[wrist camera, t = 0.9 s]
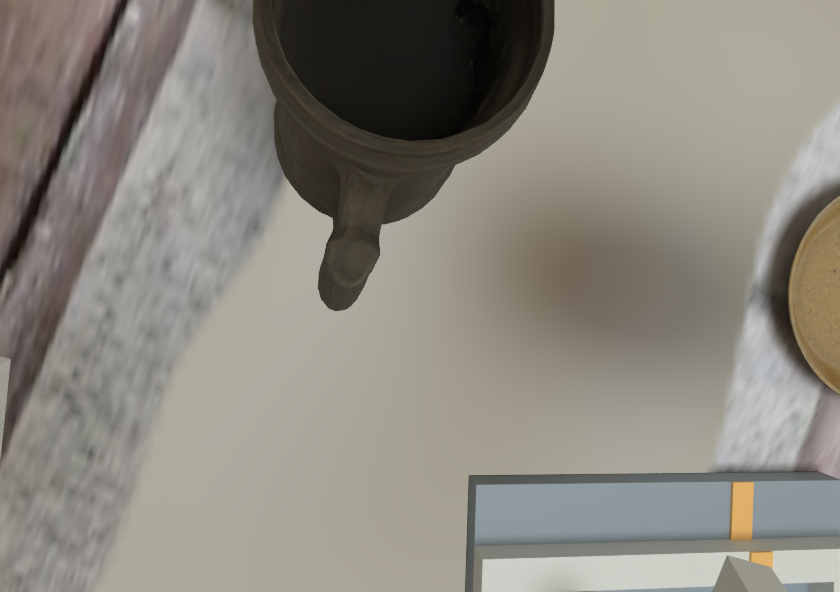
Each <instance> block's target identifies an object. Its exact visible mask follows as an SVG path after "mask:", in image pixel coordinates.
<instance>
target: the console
mask: <svg viewBox="0 0 840 592" xmlns="http://www.w3.org/2000/svg"><path fill="white" fill-rule="evenodd" d="M466 549H467V550H466V578H465V579H466V580H465V592H578V591H595V592H712V591H713V589H714V586H715V584H716V581H717V579H718V576H719V574H720V571H721V569H722V566H723V564H724V561H725V559H726V556H727V555H728V556H732V557H736V558H739V559H743V560H747V561H750V562H754V563H758V564H761V565H765V566H769V567H771V568H772V570H773V571H774V573H775V574H776V575H777V577H778V578H779V580H780V581H781V583H782V584H783V586H784V587H785V589H786V590H787V592H840V479H837V478H834V477H832V476H829V475H826V474H823V473H821V472H752V473H660V474H658V473H655V474H560V475H469V488H468V518H467V548H466Z"/></svg>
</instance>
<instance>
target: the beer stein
mask: <svg viewBox="0 0 840 592" xmlns="http://www.w3.org/2000/svg"><path fill="white" fill-rule="evenodd" d="M253 27H254V33H255V40H256V45H257V49H258V53H259V58H260V62H261V66H262V68H263V70H264V72H265V75H266V77H267V79H268V82H269V84H270V86H271V89H272V91H273V93H274V95H275V97H276V98H277V101H276V105H275V110H274V132H275V145H276V150H277V156H278V159H279V161H280V164H281V167H282V169H283V172H284V175H285V177H286V178H287V179H288V181H289V182H290V184H291V185H292V186H293V187H294V189H295V190H296V191H297V193H298V194H299V195H300V196H301V198H303V199H304V200H305V201H307V202H308V203H309V204H310V205H311V206H312V207H314V208H315V209H317V210H318V211H319V212H321V213H323V214H326V215H328V216H330V217H332V218H333V231H332V234H331V236H330V238H329V240H328V242H327V244H326V249H325V254H324V258H323V261H322V264H321V267H320V271H319V281H318V289H319V293H320V297H321V299H322V301H324V303H325V304H326V306H327V307H328V308H329V309H332V310H334V311H339V310H345V309H347V308H349V307H350V306H351V305H352V304H353V303H354V302H355V301H356V300H357V298H358V296H359V295H360V293H361V291H362V289H363V287H364V285H365V283H366V281H367V278H368V276H369V274H370V273H371V272H372V270H373V268H374V266H375V264H376V262H377V260H378V258H379V256H380V247H379V234H380V229H381V224H388V223H392V222H396V221H399V220H401V219H404V218H406V217H408V216H410V215H412V214H413V213H415V212H417V211H418V210H420V209H421V208H423V207H424V206H425V205H426V204H427V203H428V202H429V201H430V200H432V199H433V198H434V197H435V195H436V194H437V193H438V191H439V190H440V188H441V187H442V185H443V184H444V182H445V181H446V180H447V178H448V177H449V176H450V174H451V172H452V170H453V168H454V166H455V165H456V164H458V163H461V162H463V161H465V160H467V159H470V158H472V157H474V156H476V155H478V154H480V153H481V152H482V151H484V150H485V149H487V148H488V147H489V146H491V145H492V144H493V143H495V142H496V141H497V140H498V139H499V138H500V137H502V135H504V134H505V133H506V132H507V131H508V130H509V129H510V128H511V127H512V125H513V124H514V123H515V122H516V120H517V119H518V118H519V116H520V115H521V114H522V113H523V111H524V110H525V109H526V107H527V105H528V103H529V101H530V99H531V97H532V95H533V93H534V91H535V89H536V87H537V85H538V83H539V80H540V78H541V76H542V74H543V72H544V69H545V66H546V63H547V60H548V57H549V54H550V50H551V45H552V41H553V36H554V0H253Z"/></svg>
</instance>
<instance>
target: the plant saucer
mask: <svg viewBox="0 0 840 592" xmlns="http://www.w3.org/2000/svg"><path fill="white" fill-rule="evenodd" d="M788 311H789V317H790V322H791V326H792V330H793V333H794V336H795V339H796V341H797V344H798V346H799V348H800V350H801V352H802V354H803V356H804V357H805V359H806V361H807V362H808V364H809V365H810V367H811V368H812V370H813V371H814V372H815V373H816V374H817V376H818V377H819V378H820V379H821V380H822V381H823V382H824V383H825V384H826V385H827V386H829V387H830V388H831V389H832V390H834V391H835V392H837V393H838V394H840V196H838V197H837V198H836V199H834V200H833V201H832V202H831V203H829V204H828V205H827V206H826V207H825V208H824V209H823V210H822V211H821V212H820V213H819V214H818V215H817V217H816V218H815V219H814V221H813V222H812V223H811V225H810V226H809V228H808V229H807V231H806V233H805V235H804V236H803V238H802V240H801V242H800V244H799V246H798V248H797V251H796V253H795V256H794V259H793V262H792V266H791V270H790V274H789V281H788Z"/></svg>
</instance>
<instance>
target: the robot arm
mask: <svg viewBox="0 0 840 592" xmlns="http://www.w3.org/2000/svg"><path fill="white" fill-rule="evenodd" d="M10 362H11V359H8V358H4V357H1V356H0V458H1V448H2V438H3V429H4V419H5V410H6V400H7V390H8V381H9V371H10ZM712 592H787V590H786V589H785V587H784V586H783V584H782V583H781V581H780V580H779V578H778V577H777V575H776V574H775V573H774V571H773V570H772V568H771V567H769V566H765V565H761V564H758V563H754V562H750V561H747V560H743V559H739V558H736V557H732V556H728V555H727V556H726V559H725V561H724V564H723V566H722V569H721V571H720V574H719V576H718V579H717V581H716V584H715V586H714V589H713V591H712Z"/></svg>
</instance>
